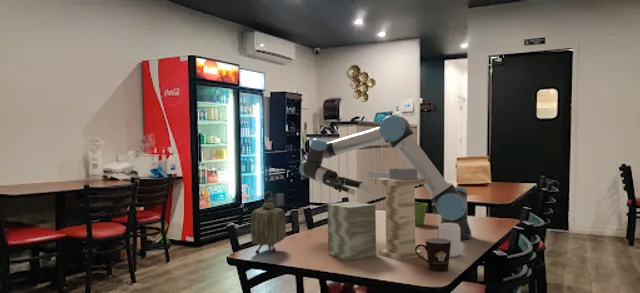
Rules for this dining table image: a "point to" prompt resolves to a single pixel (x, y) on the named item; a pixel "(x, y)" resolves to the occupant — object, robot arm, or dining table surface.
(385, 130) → the robot arm
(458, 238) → the beverage can
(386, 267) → the dining table surface
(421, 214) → the green tapered cylinder
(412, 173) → the grey t-shaped bar
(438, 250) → the coffee mug
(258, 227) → the tabletop clock
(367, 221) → the beige grey streaked blocks
